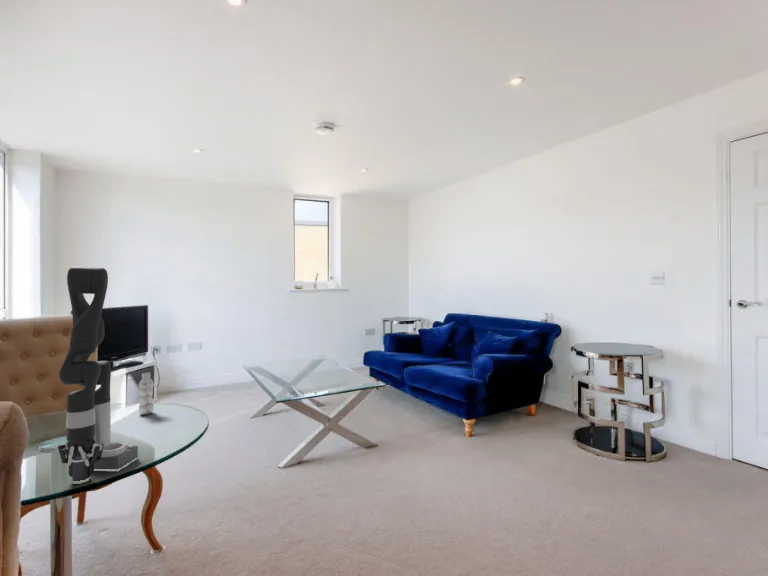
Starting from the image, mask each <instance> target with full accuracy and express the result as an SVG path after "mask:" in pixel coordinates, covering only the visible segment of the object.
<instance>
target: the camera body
mask: <svg viewBox="0 0 768 576" xmlns="http://www.w3.org/2000/svg"><path fill="white" fill-rule="evenodd" d="M138 446H139V445H133V444H128V445H127V443H126V442H122V441H120V442H119V441H118V442H111V443H110V444H106V445H104V447H103V451H102V455H101V459H100V461H98V462H96V463H95V464H94V469H119V468H121V467H123V466H124V465H126V464H127V463H129V462H131V461H132V460H134V459H135V458H137V457H138V458H139V447H138Z"/></svg>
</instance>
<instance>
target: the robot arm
mask: <svg viewBox="0 0 768 576" xmlns="http://www.w3.org/2000/svg"><path fill="white" fill-rule="evenodd" d="M66 282H67V283H66V284H67V288H68V289H67V290H68V294H69V295H68V296H69V301H70V305H71V313H72V314H71V315H72V316H71V317H72V329H71V333H70V341H69V348H68V351H67V353H66V356H65V358H64V361H63V362H62V365H61V367H60V369H59V372H58V378H59V380H60V382H61V383H62V384H64V385H78V386H80V387H84V388H81V389H78V390H74V391H70V392H69V393H68V394H67V396H66V417H65V418H66V419H65V431H66V432H65V439H66V441H67V442H64V443H62V444H59V445H58V446H57V449H58V452H59V456H60V460H61V463H62V464H64V465H65V464H67V466H68V476H69V477H70V478H72V458H74V457H76V456H78V455H80V456H82V459H83V460H84V461H85V464H86V466H85V477H90V478H91V476H93V474H94V473H95V472H94V464H95V463H96V462H98V461H100V459H101V455H102V451H103V447H104V445H106V444H110V443H112V442H111V439H112V437H111V433H112V431H111V429H112V428H111V425H112V424H111V423H112V422H111V379H112V377H111V375H112V374H111V373H112V367H111V363H110V361H109V360H98V361H97V360H89V358H90V356H91V354H94V353H95V352H96V350H97V348H98V347H99V345H100V344H101V343H102V342H103V341H104V338H105V322H104V319H103V317H102V313H103V308H104V305H105V304H104V303H105V301H106V300H105V299H106V294H107V289H108V285H109V275H108V271H107V270H106V268H104V267H98V266H97V267H96V266H94V267H93V266H71V267H69V269H68V271H67V274H66ZM85 294H88V295H89V294H91V295H93V298H92V301H91V303H90V304H89V302H87V300H86V298H85V296H84V295H85ZM97 386H99V387H98V388H97ZM96 388H97V389H96ZM86 454H88V455H86ZM89 457H90V461H89Z"/></svg>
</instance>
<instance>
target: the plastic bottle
mask: <svg viewBox="0 0 768 576" xmlns="http://www.w3.org/2000/svg"><path fill="white" fill-rule="evenodd" d="M154 386H155V383H154V381H153V379H152V378H151V372H148V371H147V372H142V373H141V379H140V381H139V383H138V389H139V390H138V391H139V406H138V413H139V414H140V415H141V416H142V415H143V416H144V415H150V414H153V412H154V410H155V405H154V398H153V394H154V393H153V391H154Z"/></svg>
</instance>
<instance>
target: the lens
mask: <svg viewBox="0 0 768 576" xmlns="http://www.w3.org/2000/svg"><path fill="white" fill-rule="evenodd" d="M88 454H89V453H88ZM88 454H86V455H88ZM89 461H90V457H89ZM85 466H86V464H85V461H84V460H83V459H82V456H80V455H78V456H76V457H74V458H72V477H71V478H72V479H71V480H73V481H80V480H85V479H87V478H89V477H85Z"/></svg>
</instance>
